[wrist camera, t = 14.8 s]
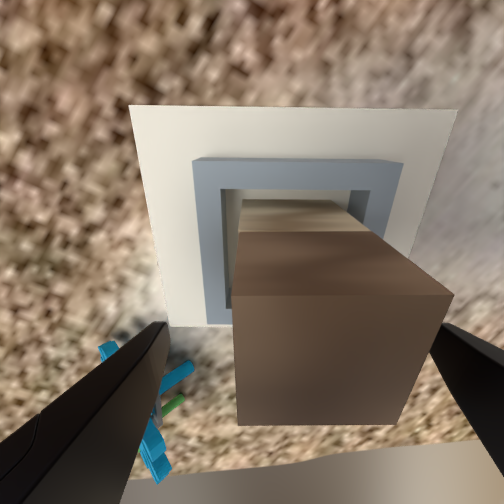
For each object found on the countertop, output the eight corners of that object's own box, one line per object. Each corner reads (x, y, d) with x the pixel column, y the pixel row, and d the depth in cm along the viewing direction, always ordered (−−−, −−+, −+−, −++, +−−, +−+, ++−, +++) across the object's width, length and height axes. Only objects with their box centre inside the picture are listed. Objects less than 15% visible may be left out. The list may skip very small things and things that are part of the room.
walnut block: (371, 231, 9) (455, 295, 5) (348, 331, 11) (396, 424, 7) (238, 231, 9) (230, 295, 5) (242, 331, 11) (237, 425, 7)
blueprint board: (446, 111, 12) (501, 103, 9) (379, 320, 18) (402, 352, 16) (135, 107, 12) (102, 98, 9) (172, 319, 18) (159, 350, 15)
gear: (78, 321, 16) (141, 465, 11) (161, 288, 20) (238, 382, 15) (104, 398, 22) (153, 514, 17) (164, 361, 26) (219, 447, 21)
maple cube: (330, 199, 13) (371, 230, 9) (319, 275, 16) (346, 331, 11) (242, 199, 13) (237, 230, 9) (243, 275, 16) (240, 330, 11)
